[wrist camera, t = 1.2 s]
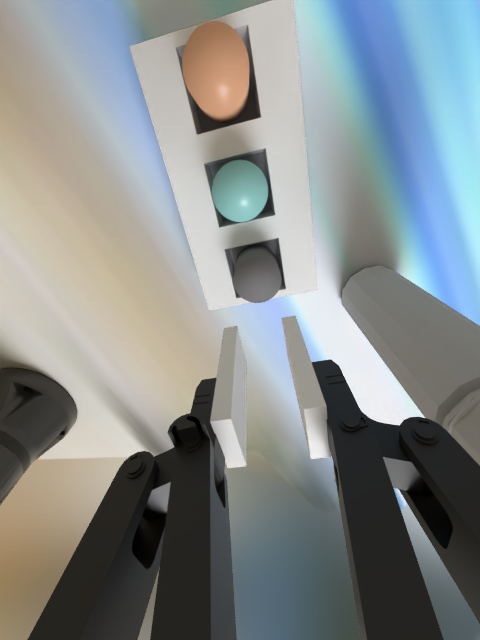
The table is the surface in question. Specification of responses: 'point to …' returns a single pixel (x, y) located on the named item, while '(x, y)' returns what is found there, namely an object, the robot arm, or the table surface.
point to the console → (237, 151)
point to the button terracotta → (217, 71)
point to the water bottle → (422, 348)
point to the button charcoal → (256, 274)
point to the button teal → (240, 190)
